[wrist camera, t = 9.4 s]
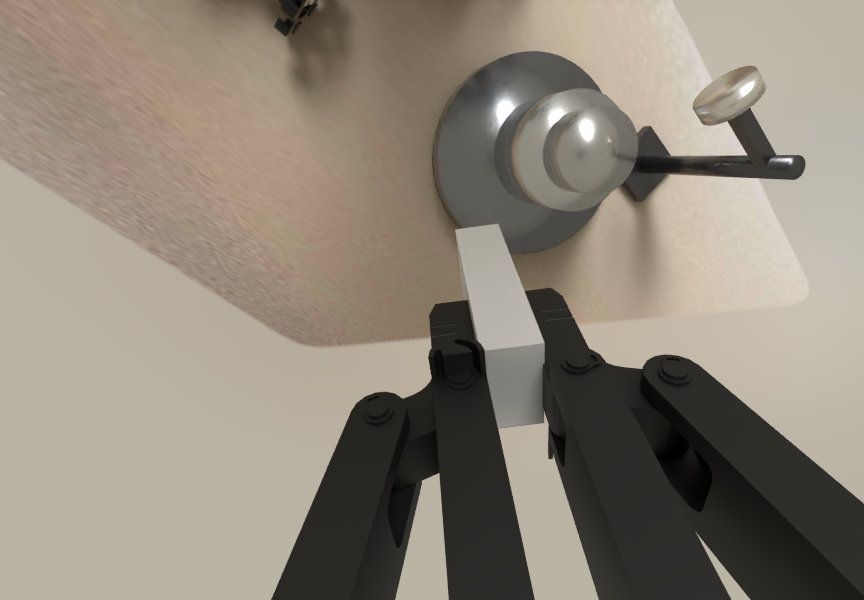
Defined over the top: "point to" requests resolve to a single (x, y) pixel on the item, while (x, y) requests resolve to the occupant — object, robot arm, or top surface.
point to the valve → (294, 15)
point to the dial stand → (714, 107)
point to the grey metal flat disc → (475, 140)
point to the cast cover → (565, 150)
